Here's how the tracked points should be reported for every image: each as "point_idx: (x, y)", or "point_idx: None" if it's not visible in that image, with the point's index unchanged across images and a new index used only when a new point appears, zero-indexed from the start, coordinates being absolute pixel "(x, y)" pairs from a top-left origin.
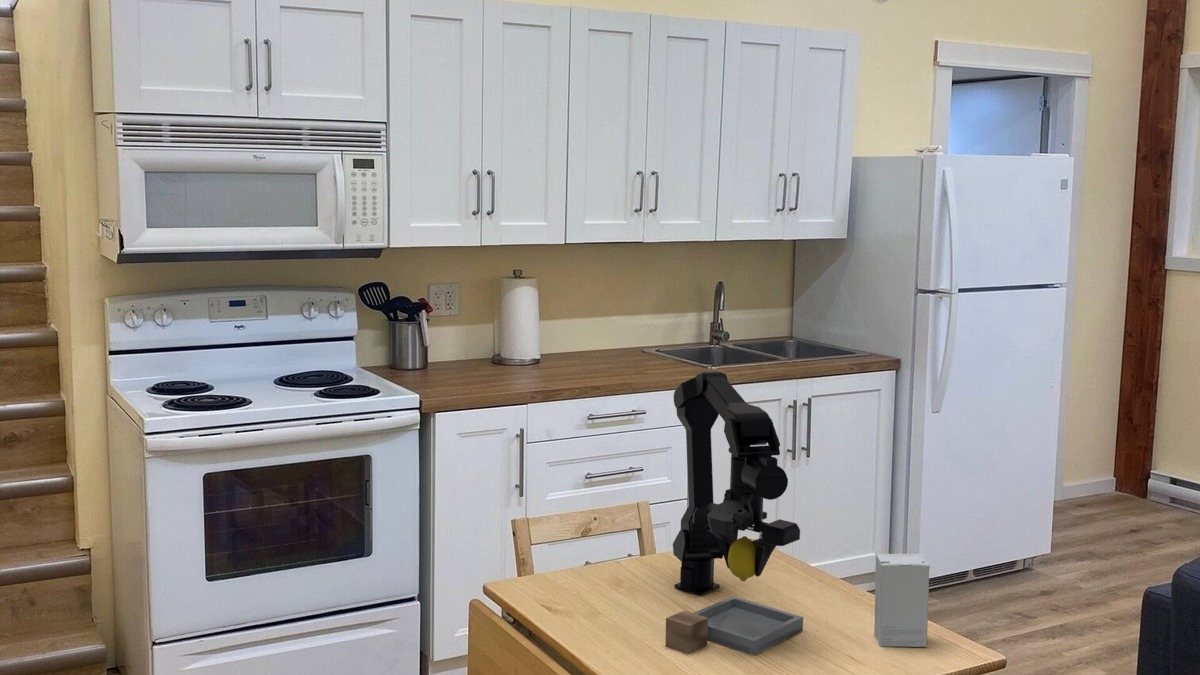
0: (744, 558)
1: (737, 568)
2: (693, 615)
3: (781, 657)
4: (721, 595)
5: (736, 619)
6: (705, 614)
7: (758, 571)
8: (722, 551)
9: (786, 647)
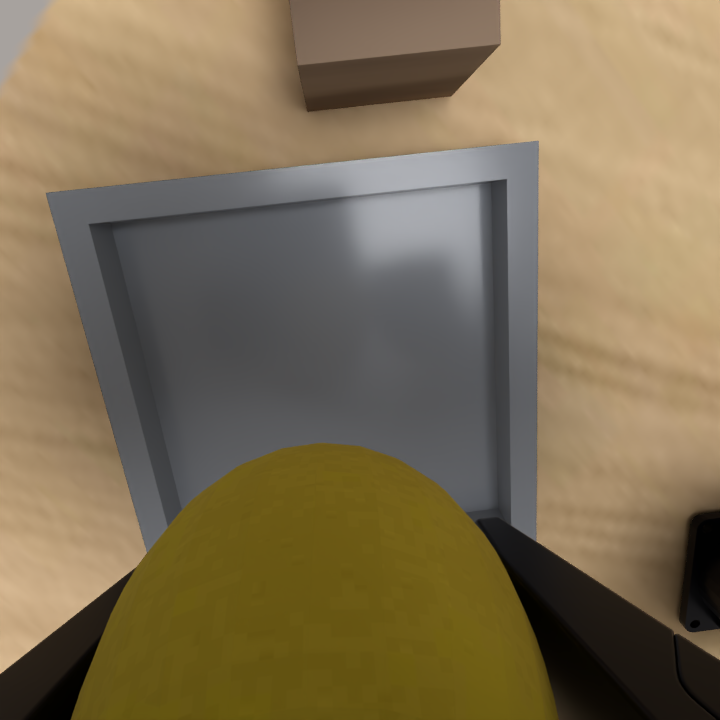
0: (128, 614)
1: (257, 463)
2: (394, 17)
3: (5, 284)
4: (630, 576)
5: (394, 414)
6: (502, 314)
7: (102, 598)
8: (647, 616)
9: (84, 385)
